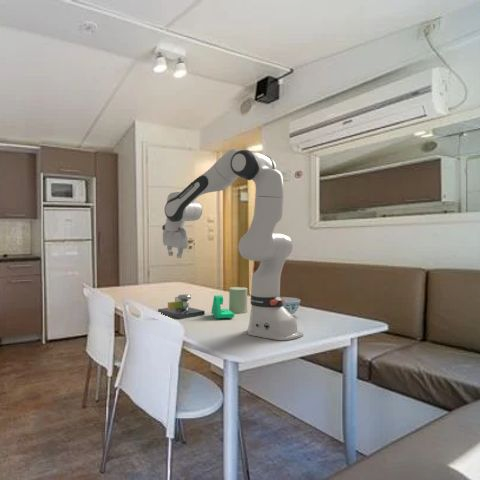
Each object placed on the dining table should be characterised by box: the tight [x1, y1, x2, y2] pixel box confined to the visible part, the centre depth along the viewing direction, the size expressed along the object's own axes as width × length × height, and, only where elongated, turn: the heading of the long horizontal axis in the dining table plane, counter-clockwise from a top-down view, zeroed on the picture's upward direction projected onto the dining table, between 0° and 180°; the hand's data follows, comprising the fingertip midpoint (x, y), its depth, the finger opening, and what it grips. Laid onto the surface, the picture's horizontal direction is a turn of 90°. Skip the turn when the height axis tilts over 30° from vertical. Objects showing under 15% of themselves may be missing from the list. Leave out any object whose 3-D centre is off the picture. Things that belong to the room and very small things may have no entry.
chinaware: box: [281, 296, 301, 315], centre depth 194 cm, size 15×15×8 cm
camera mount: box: [211, 294, 235, 319], centre depth 190 cm, size 12×8×10 cm, turn 18°
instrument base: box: [157, 295, 206, 320], centre depth 196 cm, size 18×14×8 cm
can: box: [228, 286, 248, 314], centre depth 204 cm, size 9×9×12 cm
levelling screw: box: [167, 293, 192, 311], centre depth 192 cm, size 12×6×7 cm, turn 134°
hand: (174, 256), depth 194 cm, fingers open, 8 cm apart
